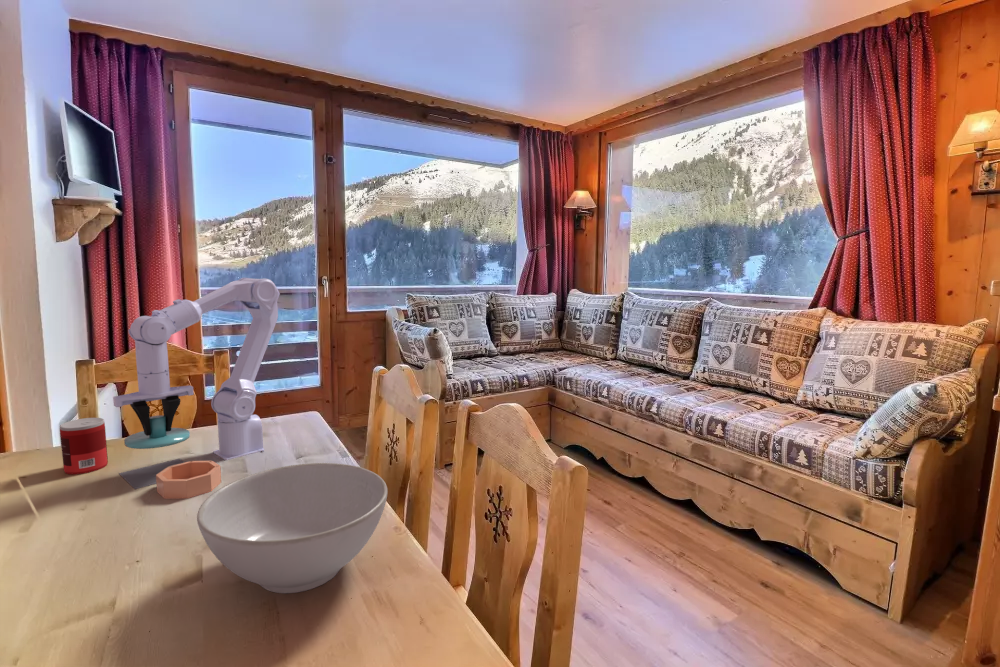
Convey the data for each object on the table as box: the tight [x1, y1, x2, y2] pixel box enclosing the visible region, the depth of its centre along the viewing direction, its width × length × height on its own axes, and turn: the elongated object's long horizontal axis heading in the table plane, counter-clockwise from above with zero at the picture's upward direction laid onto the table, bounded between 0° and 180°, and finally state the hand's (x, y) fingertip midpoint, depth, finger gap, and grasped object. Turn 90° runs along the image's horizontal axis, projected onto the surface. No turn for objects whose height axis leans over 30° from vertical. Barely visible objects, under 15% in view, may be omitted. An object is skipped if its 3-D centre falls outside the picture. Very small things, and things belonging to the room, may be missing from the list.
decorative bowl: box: [196, 462, 389, 594], centre depth 80 cm, size 27×27×12 cm
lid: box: [123, 414, 191, 450], centre depth 114 cm, size 12×12×5 cm
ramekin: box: [156, 460, 222, 500], centre depth 109 cm, size 11×11×4 cm
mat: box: [118, 458, 185, 490], centre depth 116 cm, size 12×12×1 cm
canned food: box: [59, 417, 109, 476], centre depth 117 cm, size 8×8×11 cm
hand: (157, 432), depth 114 cm, fingers closed on lid, 3 cm apart
